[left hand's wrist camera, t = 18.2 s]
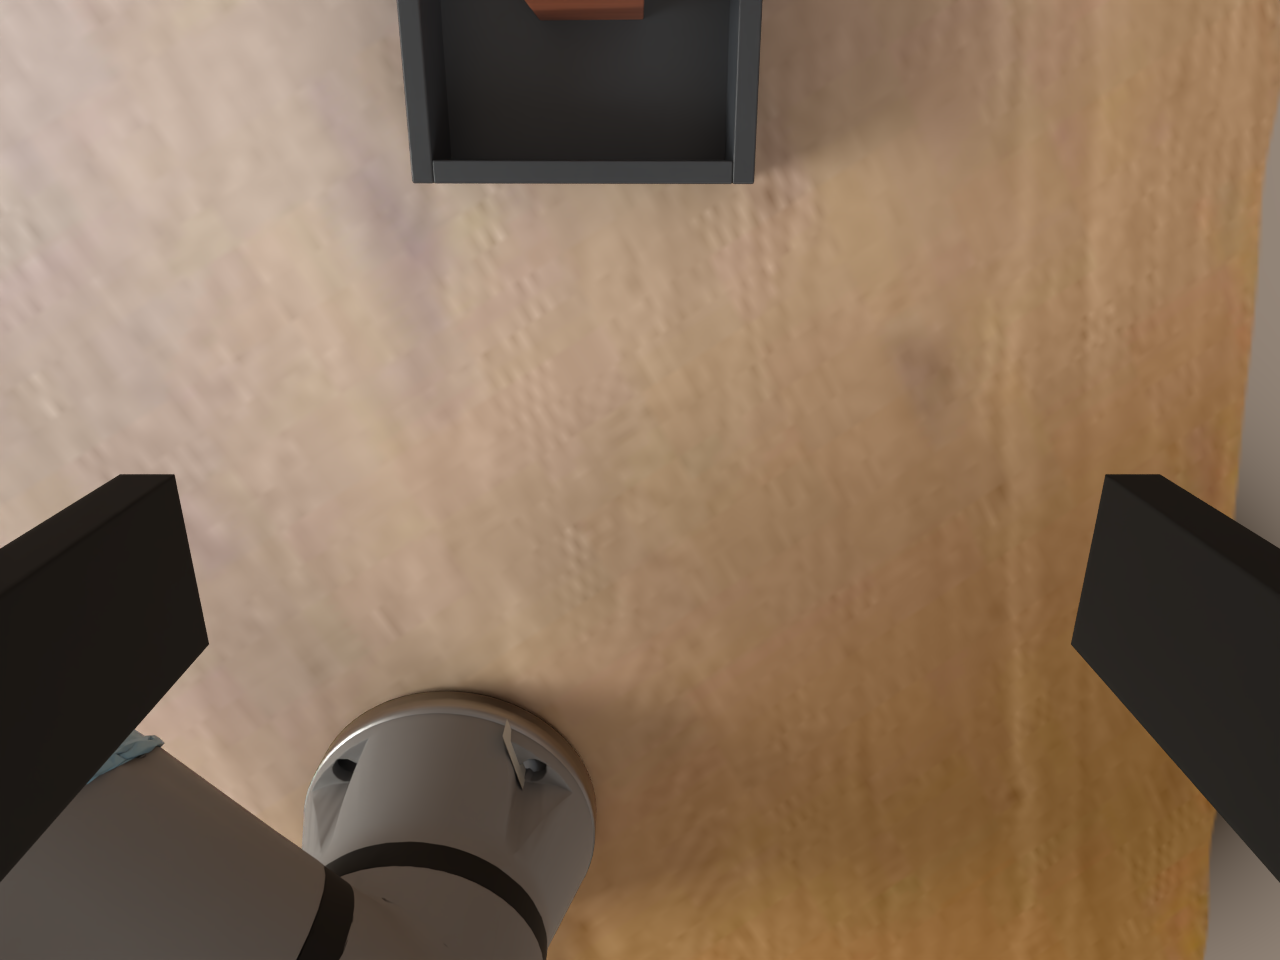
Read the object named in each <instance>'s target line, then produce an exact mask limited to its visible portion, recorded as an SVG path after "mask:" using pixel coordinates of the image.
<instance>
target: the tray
mask: <svg viewBox="0 0 1280 960" xmlns="http://www.w3.org/2000/svg"><path fill="white" fill-rule="evenodd" d="M397 9H398V21H399V33H400V44H401V56H402V67H403V79H404V90H405V102H406V114H407V125H408V137H409V148H410V160H411V171H412V181H413V183H547V184H731V183H733V184H753V183H754V171H755V149H756V127H757V106H758V84H759V62H760V40H761V19H762V0H644V18H643V19H636V20H539V19H538V17H537V16H536V15H535V13H534V12H533V11H532V9H531V8H530V7H529V5H528V4H527V3H526V1H525V0H397Z"/></svg>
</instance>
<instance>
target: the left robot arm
mask: <svg viewBox="0 0 1280 960" xmlns="http://www.w3.org/2000/svg"><path fill="white" fill-rule="evenodd" d="M208 645H209V642H208V637H207V632H206V627H205V622H204V617H203V612H202V607H201V602H200V598H199V593H198V588H197V583H196V578H195V573H194V568H193V563H192V558H191V553H190V548H189V544H188V539H187V534H186V529H185V524H184V519H183V514H182V509H181V504H180V499H179V494H178V490H177V485H176V480H175V475H174V474H120V475H118V476H117V477H115V478H114V479H112V480H110V481H109V482H107V483H105V484H104V485H102V486H101V487H99V488H97V489H96V490H94V491H93V492H91V493H89V494H88V495H86V496H85V497H83V498H81V499H80V500H78V501H76V502H75V503H73V504H72V505H70V506H68V507H67V508H65V509H64V510H62V511H60V512H59V513H57V514H55V515H54V516H52V517H51V518H49V519H47V520H46V521H44V522H43V523H41V524H39V525H38V526H36V527H35V528H33V529H31V530H30V531H28V532H26V533H25V534H23V535H22V536H20V537H18V538H17V539H15V540H14V541H12V542H10V543H9V544H7V545H5V546H4V547H2V548H1V549H0V960H546V956H547V949H548V947H549V945H550V943H551V941H552V939H553V937H554V935H555V933H556V931H557V929H558V927H559V925H560V923H561V921H562V919H563V918H564V916H565V914H566V912H567V910H568V908H569V906H570V904H571V902H572V900H573V898H574V896H575V894H576V892H577V890H578V888H579V886H580V884H581V883H582V881H583V879H584V877H585V875H586V873H587V871H588V868H589V866H590V862H591V859H592V856H593V850H594V842H595V827H596V799H595V794H594V789H593V786H592V783H591V780H590V777H589V775H588V772H587V770H586V768H585V766H584V764H583V763H582V761H581V759H580V758H579V756H578V755H577V753H576V752H575V751H574V749H573V748H572V747H571V745H570V744H569V743H568V742H567V741H566V740H565V739H564V738H563V737H562V736H561V735H560V734H559V733H558V732H557V731H555V730H554V729H553V728H552V727H551V726H549V725H548V724H547V723H545V722H544V721H543V720H541V719H540V718H538V717H536V716H535V715H533V714H531V713H530V712H528V711H526V710H524V709H522V708H520V707H518V706H515V705H513V704H510V703H508V702H505V701H502V700H499V699H496V698H492V697H489V696H484V695H479V694H475V693H467V692H456V691H435V692H424V693H417V694H412V695H407V696H403V697H400V698H396V699H393V700H390V701H388V702H385V703H383V704H380V705H378V706H376V707H374V708H372V709H370V710H369V711H367V712H365V713H364V714H362V715H361V716H359V717H358V718H356V719H355V720H354V721H353V722H351V723H350V724H349V725H348V726H347V727H346V728H345V729H344V730H343V731H342V732H341V733H340V734H339V735H338V736H337V737H336V739H335V740H334V741H333V743H332V744H331V745H330V747H329V749H328V751H327V752H326V754H325V756H324V758H323V760H322V762H321V764H320V765H319V767H318V769H317V771H316V773H315V775H314V777H313V779H312V781H311V784H310V786H309V789H308V792H307V796H306V800H305V806H304V824H303V841H302V849H301V848H300V847H298V846H297V845H295V844H294V843H292V842H291V841H289V840H288V839H287V838H285V837H284V836H282V835H281V834H279V833H278V832H276V831H275V830H274V829H272V828H271V827H270V826H268V825H267V824H265V823H264V822H263V821H261V820H260V819H259V818H257V817H256V816H254V815H253V814H252V813H250V812H249V811H247V810H246V809H245V808H243V807H242V806H241V805H239V804H238V803H236V802H235V801H234V800H232V799H231V798H230V797H228V796H227V795H225V794H224V793H223V792H221V791H220V790H219V789H217V788H216V787H214V786H213V785H212V784H210V783H209V782H208V781H206V780H205V779H203V778H202V777H201V776H199V775H198V774H196V773H195V772H194V771H192V770H191V769H190V768H188V767H187V766H185V765H184V764H183V763H181V762H180V761H179V760H177V759H176V758H174V757H173V756H172V755H170V754H169V753H168V752H166V751H165V750H163V749H162V748H161V746H162V745H163V744H164V742H163V741H162V740H161V739H160V738H158V737H157V736H155V735H151V736H144V735H143V734H141V733H139V732H138V731H136V730H135V728H136V727H137V726H138V725H139V723H140V722H141V721H142V720H143V719H144V718H145V717H146V716H147V714H148V713H149V712H150V711H151V710H152V709H153V708H154V706H155V705H156V704H157V703H158V702H159V701H160V700H161V698H162V697H163V696H164V695H165V694H166V693H167V692H168V690H169V689H170V688H171V687H172V686H173V685H174V684H175V682H176V681H177V680H178V679H179V678H180V677H181V676H182V674H183V673H184V672H185V671H186V670H187V669H188V668H189V666H190V665H191V664H192V663H193V662H194V661H195V660H196V658H197V657H198V656H199V655H200V654H201V653H202V652H203V650H204V649H205V648H206V647H207V646H208ZM1071 645H1072V646H1073V647H1074V648H1075V649H1076V650H1077V652H1078V653H1079V654H1080V655H1081V656H1082V657H1083V658H1084V660H1085V661H1086V662H1087V663H1088V664H1089V665H1090V666H1091V668H1092V669H1093V670H1094V671H1095V672H1096V673H1097V674H1098V676H1099V677H1100V678H1101V679H1102V680H1103V681H1104V682H1105V684H1106V685H1107V686H1108V687H1109V688H1110V689H1111V690H1112V692H1113V693H1114V694H1115V695H1116V696H1117V697H1118V698H1119V700H1120V701H1121V702H1122V703H1123V704H1124V705H1125V706H1126V708H1127V709H1128V710H1129V711H1130V712H1131V713H1132V714H1133V716H1134V717H1135V718H1136V719H1137V720H1138V721H1139V722H1140V723H1141V725H1142V726H1143V727H1144V728H1145V729H1146V730H1147V731H1148V733H1149V734H1150V735H1151V736H1152V737H1153V738H1154V739H1155V741H1156V742H1157V743H1158V744H1159V745H1160V746H1161V747H1162V749H1163V750H1164V751H1165V752H1166V753H1167V754H1168V755H1169V757H1170V758H1171V759H1172V760H1173V761H1174V762H1175V763H1176V765H1177V766H1178V767H1179V768H1180V769H1181V770H1182V771H1183V773H1184V774H1185V775H1186V776H1187V777H1188V778H1189V779H1190V781H1191V782H1192V783H1193V784H1194V785H1195V786H1196V787H1197V789H1198V790H1199V791H1200V792H1201V793H1202V794H1203V795H1204V797H1205V798H1206V799H1207V800H1208V801H1209V802H1210V803H1211V805H1212V806H1213V807H1214V808H1215V809H1216V810H1217V811H1218V813H1219V814H1220V815H1221V816H1222V817H1223V818H1224V819H1225V821H1226V822H1227V823H1228V824H1229V825H1230V826H1231V827H1232V828H1233V830H1234V831H1235V832H1236V833H1237V834H1238V835H1239V836H1240V838H1241V839H1242V840H1243V841H1244V842H1245V843H1246V845H1247V846H1248V847H1249V848H1250V849H1251V850H1252V851H1253V852H1254V854H1255V855H1256V856H1257V857H1258V858H1259V859H1260V860H1261V862H1262V863H1263V864H1264V865H1265V866H1266V867H1267V868H1268V870H1269V871H1270V872H1271V873H1272V874H1273V875H1274V876H1275V878H1276V879H1277V880H1278V881H1279V882H1280V549H1279V548H1278V547H1276V546H1275V545H1273V544H1271V543H1270V542H1268V541H1266V540H1265V539H1263V538H1262V537H1260V536H1258V535H1257V534H1255V533H1253V532H1252V531H1250V530H1249V529H1247V528H1245V527H1244V526H1242V525H1241V524H1239V523H1237V522H1236V521H1234V520H1233V519H1231V518H1229V517H1228V516H1226V515H1225V514H1223V513H1221V512H1220V511H1218V510H1216V509H1215V508H1213V507H1212V506H1210V505H1208V504H1207V503H1205V502H1204V501H1202V500H1200V499H1199V498H1197V497H1195V496H1194V495H1192V494H1191V493H1189V492H1187V491H1186V490H1184V489H1183V488H1181V487H1179V486H1178V485H1176V484H1175V483H1173V482H1171V481H1170V480H1168V479H1166V478H1165V477H1163V476H1162V475H1160V474H1106V475H1105V480H1104V485H1103V490H1102V494H1101V499H1100V504H1099V509H1098V514H1097V519H1096V524H1095V529H1094V534H1093V539H1092V544H1091V548H1090V553H1089V558H1088V563H1087V568H1086V573H1085V578H1084V583H1083V588H1082V593H1081V598H1080V602H1079V607H1078V612H1077V617H1076V622H1075V627H1074V632H1073V637H1072V642H1071Z"/></svg>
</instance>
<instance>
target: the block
mask: <svg viewBox="0 0 1280 960" xmlns="http://www.w3.org/2000/svg"><path fill="white" fill-rule="evenodd" d="M525 1H526V3H527V4H528V5H529V7H530V8H531V9H532V11H533V12H534V13H535V15H536V16H537V17H538V19H539V20H636V19H643V18H644V0H525Z"/></svg>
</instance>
